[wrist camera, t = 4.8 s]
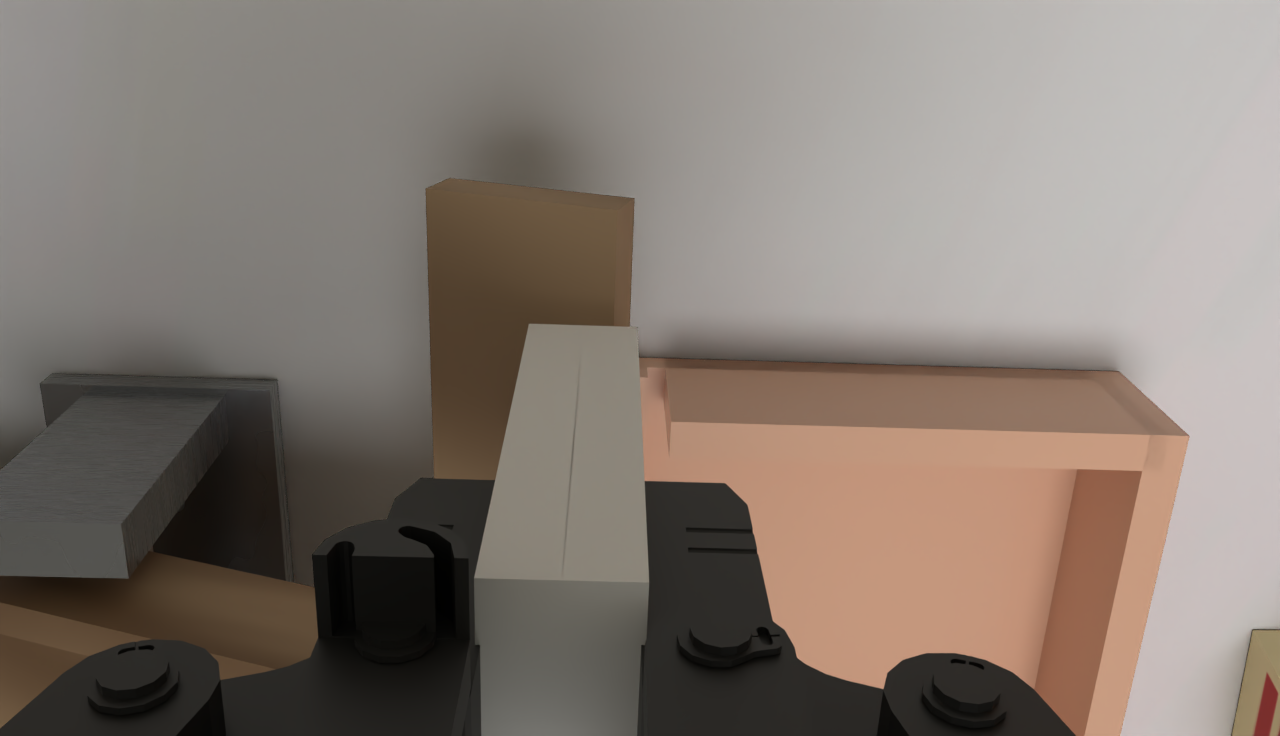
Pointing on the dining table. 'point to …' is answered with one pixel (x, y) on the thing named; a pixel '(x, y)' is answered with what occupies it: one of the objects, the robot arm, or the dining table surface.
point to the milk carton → (1260, 687)
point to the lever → (461, 418)
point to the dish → (938, 511)
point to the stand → (148, 478)
